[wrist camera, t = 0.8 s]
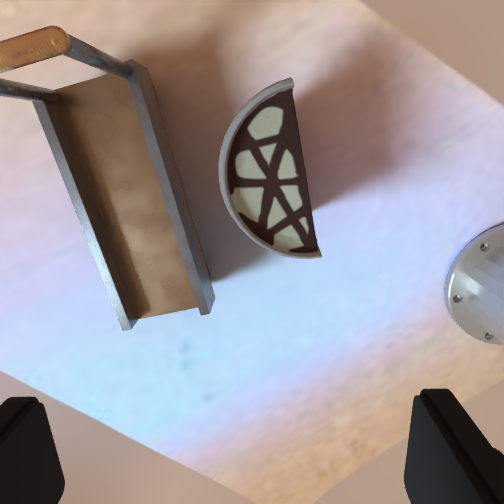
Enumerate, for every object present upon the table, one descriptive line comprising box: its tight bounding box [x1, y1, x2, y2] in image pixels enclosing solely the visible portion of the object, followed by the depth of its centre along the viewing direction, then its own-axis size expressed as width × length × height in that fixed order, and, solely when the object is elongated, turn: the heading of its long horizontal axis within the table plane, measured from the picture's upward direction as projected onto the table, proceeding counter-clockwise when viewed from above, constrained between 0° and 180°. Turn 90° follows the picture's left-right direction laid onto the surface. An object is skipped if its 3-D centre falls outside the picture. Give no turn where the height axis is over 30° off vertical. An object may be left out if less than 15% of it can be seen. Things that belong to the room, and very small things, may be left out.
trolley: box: [0, 26, 215, 331], centre depth 27 cm, size 8×20×15 cm, turn 14°
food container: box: [219, 77, 322, 259], centre depth 28 cm, size 12×6×10 cm, turn 12°
